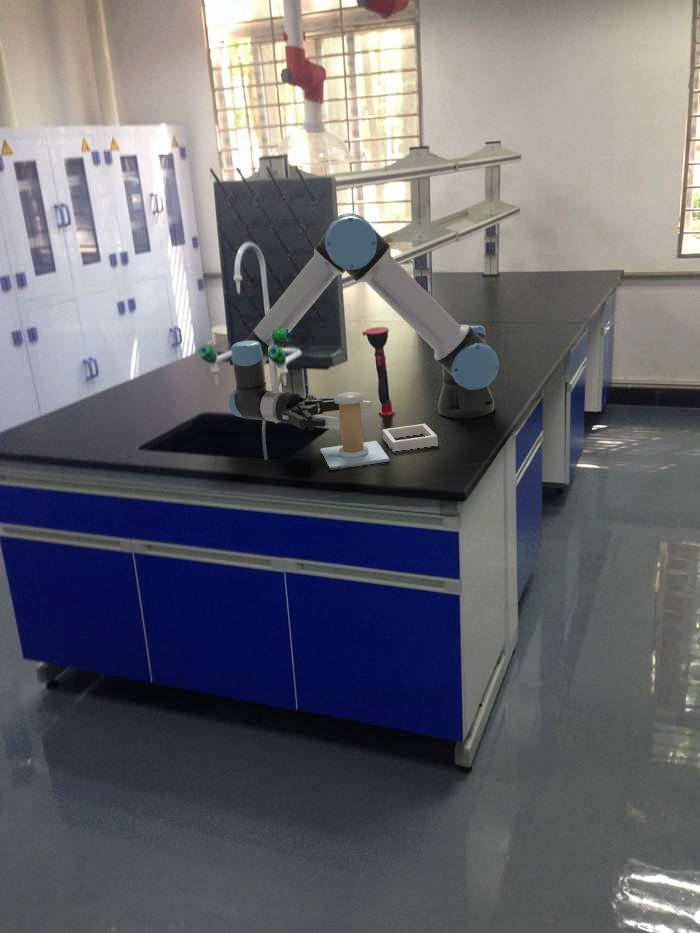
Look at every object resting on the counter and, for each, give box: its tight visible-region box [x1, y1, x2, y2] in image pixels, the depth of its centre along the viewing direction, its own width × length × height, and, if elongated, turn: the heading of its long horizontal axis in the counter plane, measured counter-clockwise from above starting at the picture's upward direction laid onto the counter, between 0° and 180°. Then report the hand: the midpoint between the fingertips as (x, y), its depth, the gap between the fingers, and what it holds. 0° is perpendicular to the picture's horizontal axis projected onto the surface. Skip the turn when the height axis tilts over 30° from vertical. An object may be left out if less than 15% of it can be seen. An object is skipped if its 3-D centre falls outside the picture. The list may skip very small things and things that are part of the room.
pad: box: [319, 440, 390, 469], centre depth 198 cm, size 14×14×1 cm
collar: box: [382, 423, 439, 453], centre depth 205 cm, size 11×11×2 cm
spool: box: [333, 391, 368, 458], centre depth 196 cm, size 7×7×14 cm
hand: (355, 415), depth 194 cm, fingers open, 13 cm apart
